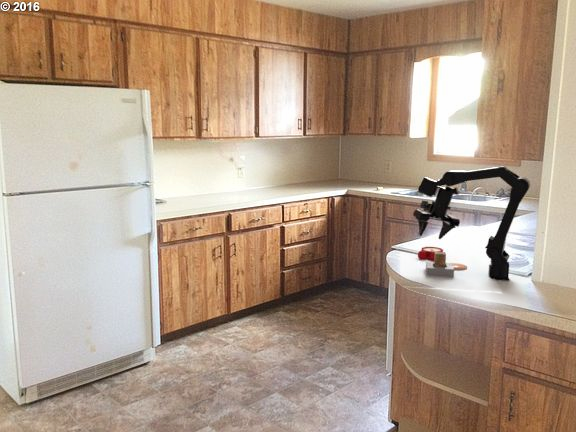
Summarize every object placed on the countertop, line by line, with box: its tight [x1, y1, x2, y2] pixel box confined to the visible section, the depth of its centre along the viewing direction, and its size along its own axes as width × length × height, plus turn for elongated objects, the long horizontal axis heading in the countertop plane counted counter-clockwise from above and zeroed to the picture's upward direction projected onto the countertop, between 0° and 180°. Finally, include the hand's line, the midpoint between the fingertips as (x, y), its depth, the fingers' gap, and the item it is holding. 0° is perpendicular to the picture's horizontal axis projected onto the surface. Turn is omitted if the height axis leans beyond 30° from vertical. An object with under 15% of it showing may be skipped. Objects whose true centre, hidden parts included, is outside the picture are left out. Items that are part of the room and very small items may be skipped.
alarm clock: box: [417, 246, 445, 261], centre depth 232 cm, size 10×6×15 cm
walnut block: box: [433, 251, 447, 267], centre depth 207 cm, size 4×4×8 cm
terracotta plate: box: [451, 262, 468, 271], centre depth 216 cm, size 9×9×1 cm
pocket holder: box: [425, 261, 455, 278], centre depth 208 cm, size 10×10×4 cm
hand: (429, 237), depth 213 cm, fingers open, 9 cm apart
